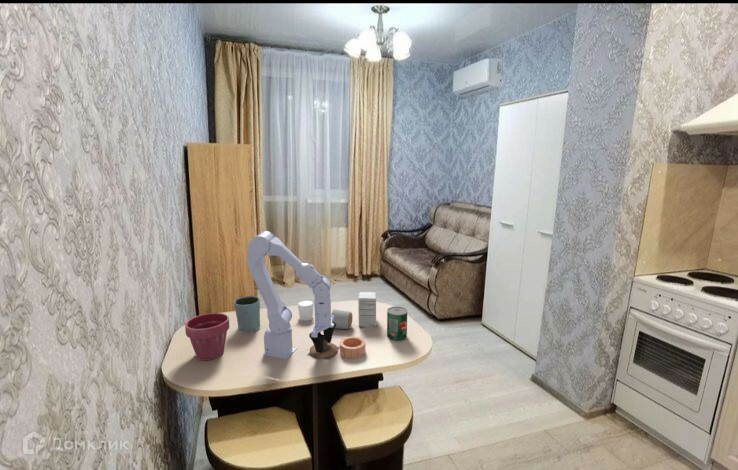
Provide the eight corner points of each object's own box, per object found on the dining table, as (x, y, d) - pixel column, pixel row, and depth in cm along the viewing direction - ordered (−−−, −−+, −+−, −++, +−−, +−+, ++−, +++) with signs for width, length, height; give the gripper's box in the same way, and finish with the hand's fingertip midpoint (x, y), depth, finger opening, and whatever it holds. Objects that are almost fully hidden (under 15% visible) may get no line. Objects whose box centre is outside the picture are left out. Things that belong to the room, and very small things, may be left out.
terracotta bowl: (336, 356, 130) (335, 346, 129) (345, 344, 138) (345, 335, 137) (360, 361, 127) (360, 350, 126) (368, 348, 135) (368, 338, 135)
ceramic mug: (350, 332, 148) (350, 314, 147) (330, 331, 149) (329, 313, 148) (354, 321, 159) (354, 304, 157) (335, 320, 159) (335, 303, 158)
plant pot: (210, 341, 141) (208, 309, 139) (240, 348, 136) (237, 315, 133) (179, 359, 128) (175, 325, 126) (210, 368, 123) (206, 332, 120)
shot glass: (317, 317, 163) (316, 302, 161) (306, 322, 157) (306, 307, 156) (305, 313, 166) (305, 298, 165) (294, 319, 161) (294, 303, 159)
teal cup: (254, 334, 147) (252, 305, 144) (231, 332, 148) (228, 304, 146) (265, 323, 157) (264, 296, 154) (243, 321, 158) (241, 295, 156)
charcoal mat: (306, 356, 130) (306, 355, 130) (318, 344, 139) (318, 343, 139) (329, 360, 127) (329, 359, 127) (340, 348, 136) (340, 347, 136)
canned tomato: (408, 341, 141) (408, 314, 139) (387, 341, 141) (387, 314, 139) (405, 332, 149) (406, 306, 146) (386, 332, 149) (386, 306, 146)
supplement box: (359, 319, 161) (359, 291, 158) (376, 319, 160) (376, 291, 158) (358, 326, 153) (357, 298, 151) (375, 327, 153) (376, 298, 151)
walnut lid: (304, 355, 130) (304, 345, 129) (317, 342, 139) (317, 333, 138) (330, 360, 127) (330, 350, 126) (341, 346, 136) (341, 337, 135)
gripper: (324, 321, 122) (325, 359, 125) (341, 305, 135) (341, 339, 138) (305, 318, 124) (306, 355, 127) (323, 303, 138) (324, 336, 140)
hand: (323, 347), depth 133 cm, fingers open, 7 cm apart
